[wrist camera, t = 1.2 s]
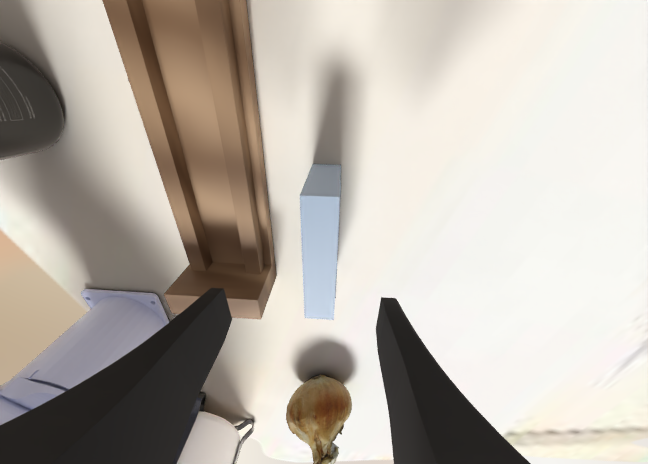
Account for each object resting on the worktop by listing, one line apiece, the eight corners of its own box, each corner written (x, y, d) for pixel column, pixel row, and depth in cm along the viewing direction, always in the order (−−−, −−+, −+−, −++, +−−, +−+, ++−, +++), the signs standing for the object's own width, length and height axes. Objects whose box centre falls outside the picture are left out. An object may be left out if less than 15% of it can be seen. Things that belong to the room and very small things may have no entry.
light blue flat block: (336, 265, 22) (334, 319, 17) (313, 264, 22) (303, 317, 17) (341, 164, 18) (340, 197, 12) (312, 163, 18) (299, 195, 12)
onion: (365, 375, 30) (371, 460, 23) (333, 402, 34) (331, 482, 27) (310, 354, 29) (299, 437, 22) (283, 385, 33) (267, 464, 26)
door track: (276, 275, 23) (261, 319, 19) (203, 271, 23) (172, 313, 19) (243, -21, 13) (193, -74, 9) (115, -20, 13) (6, -71, 9)
